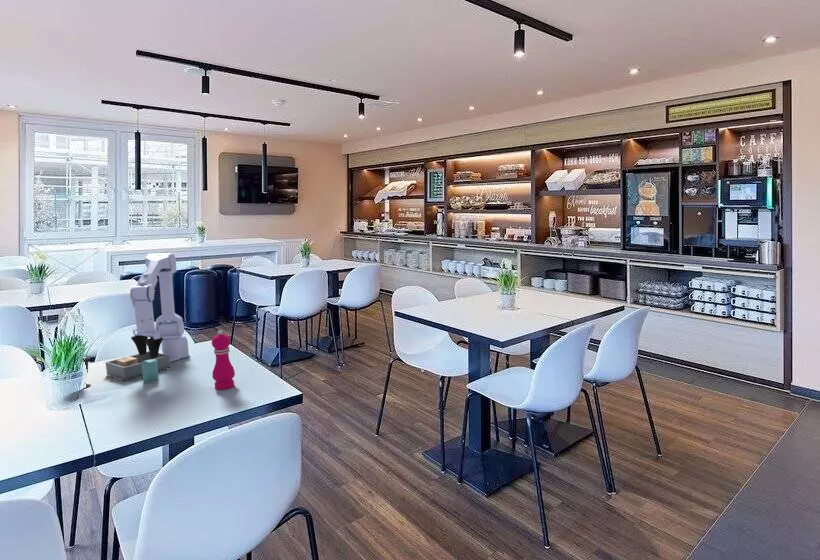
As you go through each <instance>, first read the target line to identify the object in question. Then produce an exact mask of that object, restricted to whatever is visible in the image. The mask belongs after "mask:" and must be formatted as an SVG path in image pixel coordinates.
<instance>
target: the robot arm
mask: <svg viewBox="0 0 820 560" xmlns="http://www.w3.org/2000/svg"><path fill="white" fill-rule="evenodd" d="M144 258H145V259H144V260H145V261H144V262H145V267H146V271H145V272H143V273H142V274H141V275H140V277H139V279H138V281H137V284H136V285H134V286H133V287H131V288H130V292H129V296H130V300H131V303H132V307H133V308H134V315H135V326H136V328H133V329H132V336H130V340H132V341H133V344H135V347H136V349H137V352H138V354H139V355H144V354H146V352H148V351H149V353H150V356H151V358H156V357H158V353H160V347H161V352H162V353H161V354H165V355H169V360H170V363H172V362H174V361H177V360H182V359H185V357H186V358H188V357H189V358H190V357H191V354H189V353H190V351H189V342H188V338H187V336H185V335H184V333H185V325H184V321H183V317H182V316H181V315H179V314H177V313H176V312H175V299H174V286H173V283H174V282H173V275H174V274H175V273H177V259H176V256H175V253H173V252H168V253H167V252H166V253H147V254H146V256H145V257H144ZM157 276H158V277H157ZM158 278H159V279H158ZM158 282H159V294H160V308H161V315H159V316H158V317H157V318H156V320H155V318H154V317H155V316H154V306H153V301H154V299H155V288H156V285H157V283H158ZM133 335H134V336H133ZM147 348H148V351H147ZM181 358H182V359H181Z"/></svg>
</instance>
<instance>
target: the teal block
mask: <svg viewBox="0 0 820 560" xmlns="http://www.w3.org/2000/svg"><path fill="white" fill-rule="evenodd" d="M141 364H142V373H143V376H142V381H144V382H143V383H145V382H149V383H154V382H153V381H155V382H157V381H159V380H158V379H160V378H159V377H160V376H159V371H158V366H157V360H155V359H152V360H145V361H143V362H141Z"/></svg>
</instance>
